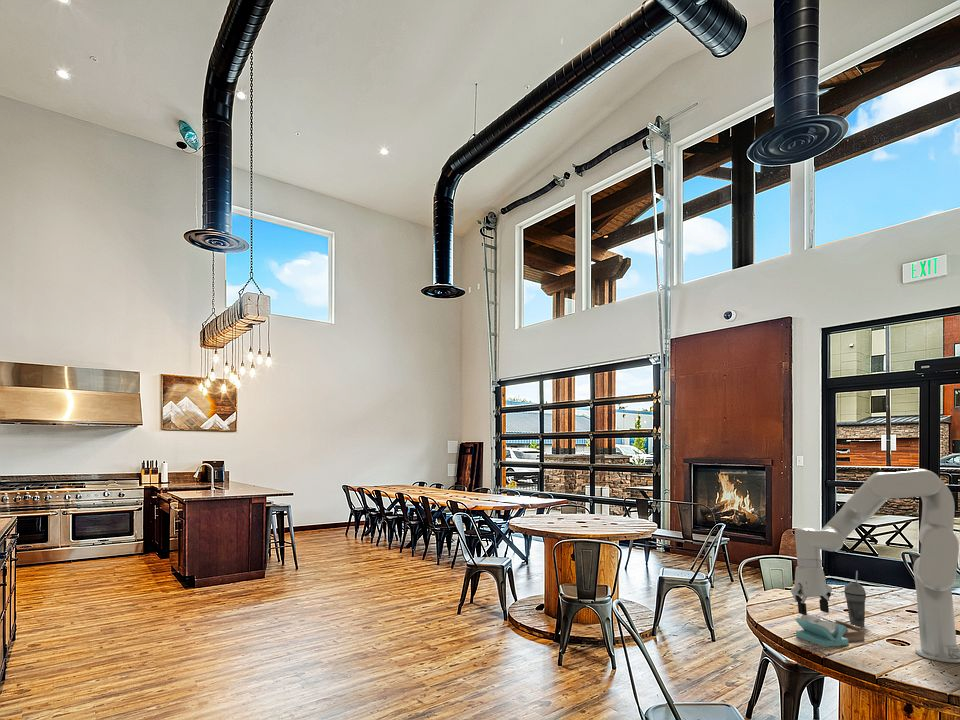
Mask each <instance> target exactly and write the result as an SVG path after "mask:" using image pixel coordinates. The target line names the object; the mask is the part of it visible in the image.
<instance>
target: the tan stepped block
mask: <svg viewBox="0 0 960 720" xmlns="http://www.w3.org/2000/svg"><path fill="white" fill-rule="evenodd" d="M834 623H837V624H840V625H843V626H845V627H846V628H847V630H846V631H845V633H844V634H843V636H842V637H844V638H847V639H848V643H850V642H858V641H857V640H860V641H865V631H864V630H863V629H862V628H863V627H860V626H854V625H851V624H850V623H848V622H846V621H841V620H839V619H835V622H834Z"/></svg>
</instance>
